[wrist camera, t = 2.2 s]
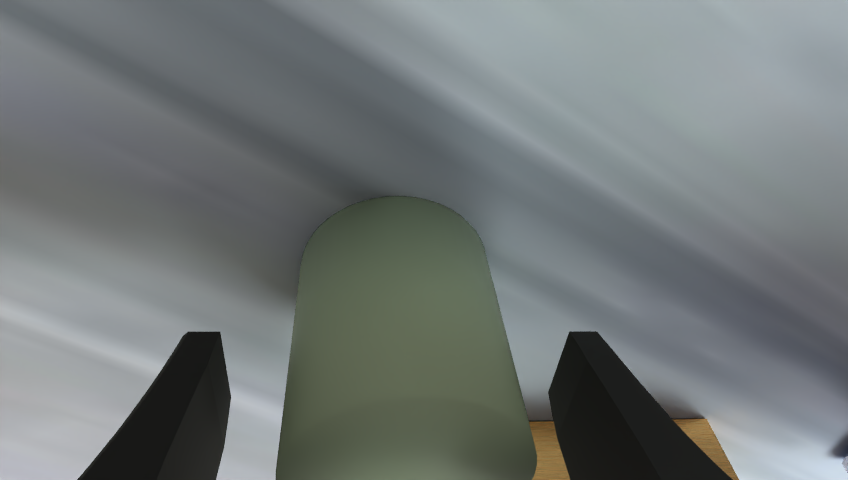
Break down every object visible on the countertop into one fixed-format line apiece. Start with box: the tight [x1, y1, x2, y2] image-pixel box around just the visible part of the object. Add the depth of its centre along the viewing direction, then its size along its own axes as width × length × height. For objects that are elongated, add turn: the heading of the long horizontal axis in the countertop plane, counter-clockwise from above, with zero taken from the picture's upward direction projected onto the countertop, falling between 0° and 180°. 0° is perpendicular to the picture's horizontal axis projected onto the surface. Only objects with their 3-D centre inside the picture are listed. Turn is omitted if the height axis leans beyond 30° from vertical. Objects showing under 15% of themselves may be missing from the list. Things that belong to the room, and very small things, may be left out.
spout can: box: [276, 196, 537, 480], centre depth 13 cm, size 5×7×6 cm
